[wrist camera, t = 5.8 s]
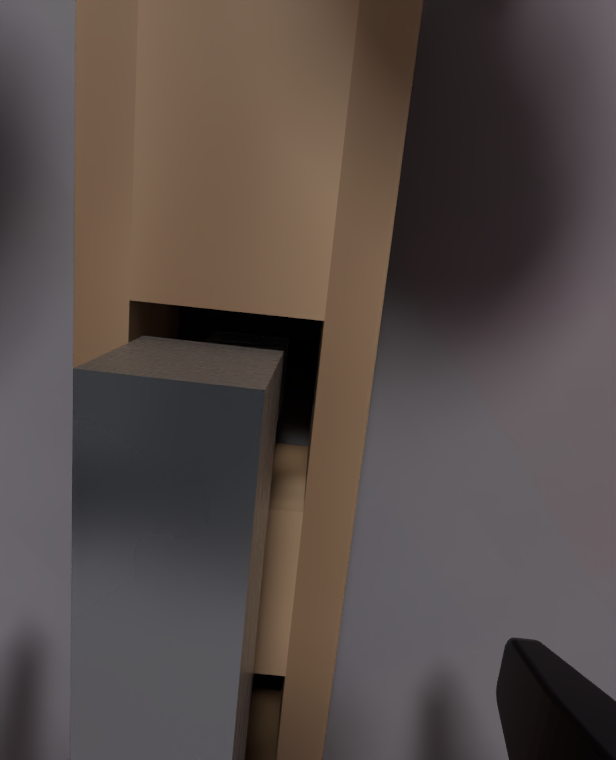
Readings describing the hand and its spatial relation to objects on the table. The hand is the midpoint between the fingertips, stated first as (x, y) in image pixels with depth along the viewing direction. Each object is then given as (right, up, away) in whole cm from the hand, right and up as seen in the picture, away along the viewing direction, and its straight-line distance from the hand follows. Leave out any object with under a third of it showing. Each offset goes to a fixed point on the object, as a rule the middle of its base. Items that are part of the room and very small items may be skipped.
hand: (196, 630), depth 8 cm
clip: (0, +1, +4) cm, 4 cm away
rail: (0, +1, +4) cm, 4 cm away
